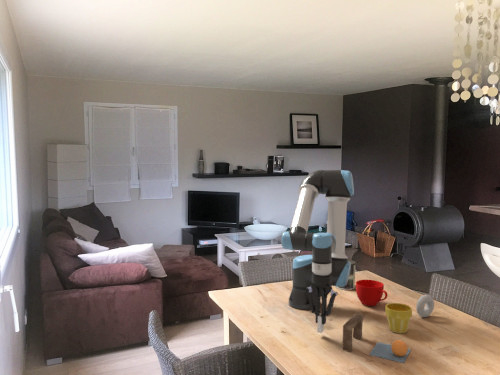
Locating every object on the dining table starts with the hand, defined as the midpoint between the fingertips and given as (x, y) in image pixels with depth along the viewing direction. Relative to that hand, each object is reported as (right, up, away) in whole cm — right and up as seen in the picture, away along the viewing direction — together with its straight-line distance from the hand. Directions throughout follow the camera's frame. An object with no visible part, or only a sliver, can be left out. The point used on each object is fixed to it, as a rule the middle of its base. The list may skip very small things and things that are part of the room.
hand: (320, 331), depth 173 cm
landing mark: (+23, -3, -14) cm, 27 cm away
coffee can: (+23, +3, +63) cm, 67 cm away
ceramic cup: (+30, +1, +36) cm, 47 cm away
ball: (+26, -1, -16) cm, 30 cm away
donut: (+50, -1, +21) cm, 54 cm away
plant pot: (+33, -2, +6) cm, 33 cm away
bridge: (+11, -3, -6) cm, 13 cm away
